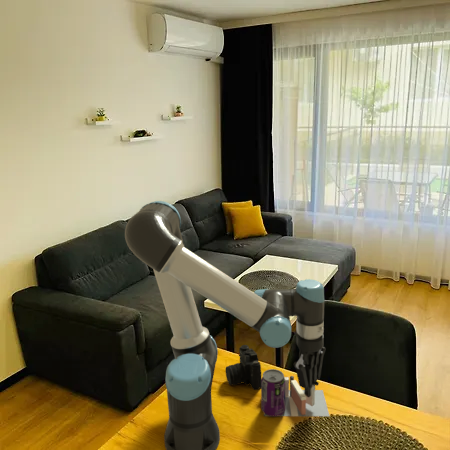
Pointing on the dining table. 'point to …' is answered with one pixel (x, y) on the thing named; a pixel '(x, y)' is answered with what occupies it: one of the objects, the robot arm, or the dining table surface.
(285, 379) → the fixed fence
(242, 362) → the camera
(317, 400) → the mat
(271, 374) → the beverage can
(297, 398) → the cream pink flat block
